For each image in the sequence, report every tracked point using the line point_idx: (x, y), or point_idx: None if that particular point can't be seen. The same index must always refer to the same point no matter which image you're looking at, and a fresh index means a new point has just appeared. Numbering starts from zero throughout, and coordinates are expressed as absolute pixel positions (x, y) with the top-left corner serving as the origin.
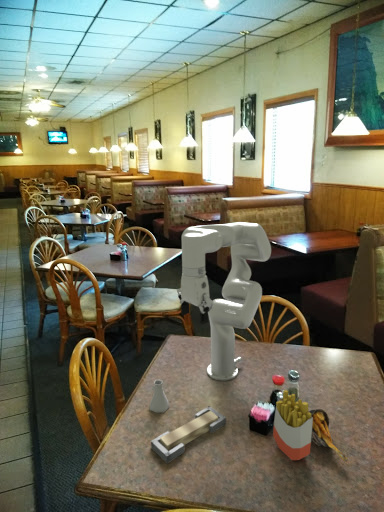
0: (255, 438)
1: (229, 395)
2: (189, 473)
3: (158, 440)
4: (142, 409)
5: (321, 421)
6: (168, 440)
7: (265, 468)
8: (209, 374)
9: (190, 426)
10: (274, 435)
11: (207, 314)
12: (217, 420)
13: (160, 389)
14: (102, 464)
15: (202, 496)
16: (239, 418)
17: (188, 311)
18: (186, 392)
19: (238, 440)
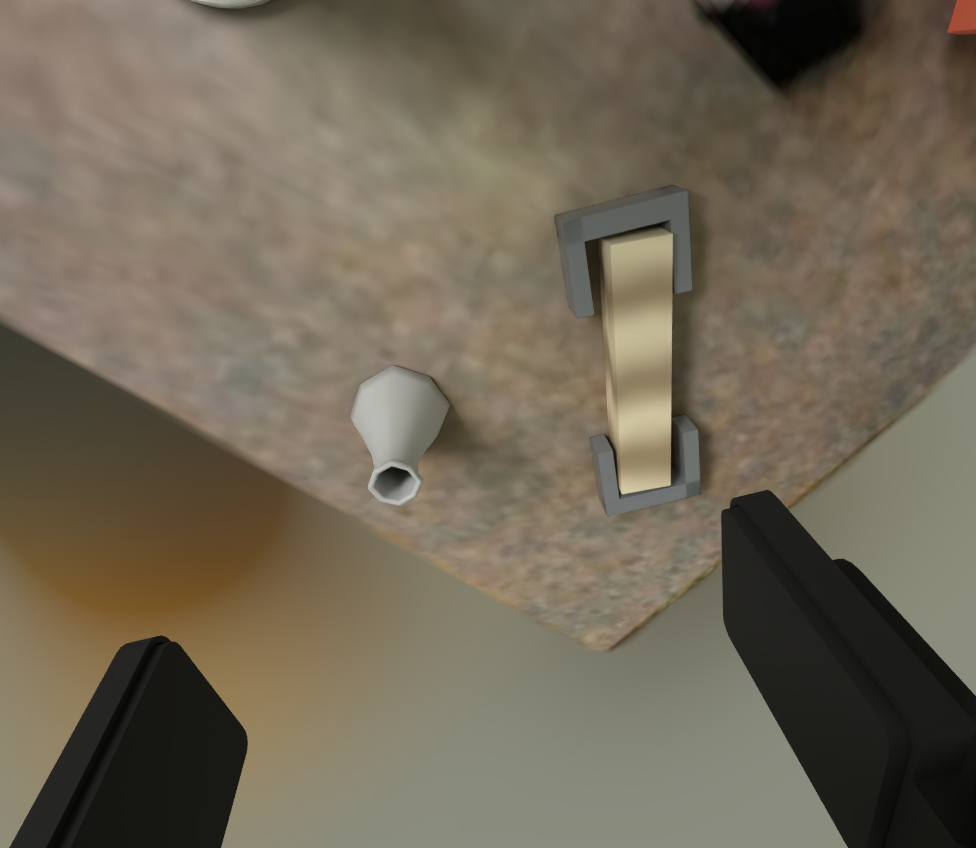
0: (835, 105)
1: (491, 5)
2: (766, 433)
3: (618, 494)
4: None
5: None
6: (652, 475)
7: (960, 182)
8: (229, 6)
9: (642, 378)
10: (963, 31)
11: (963, 697)
12: (676, 242)
13: (417, 462)
14: (574, 616)
15: (854, 432)
16: (686, 88)
17: (165, 685)
18: (348, 248)
19: (785, 192)
